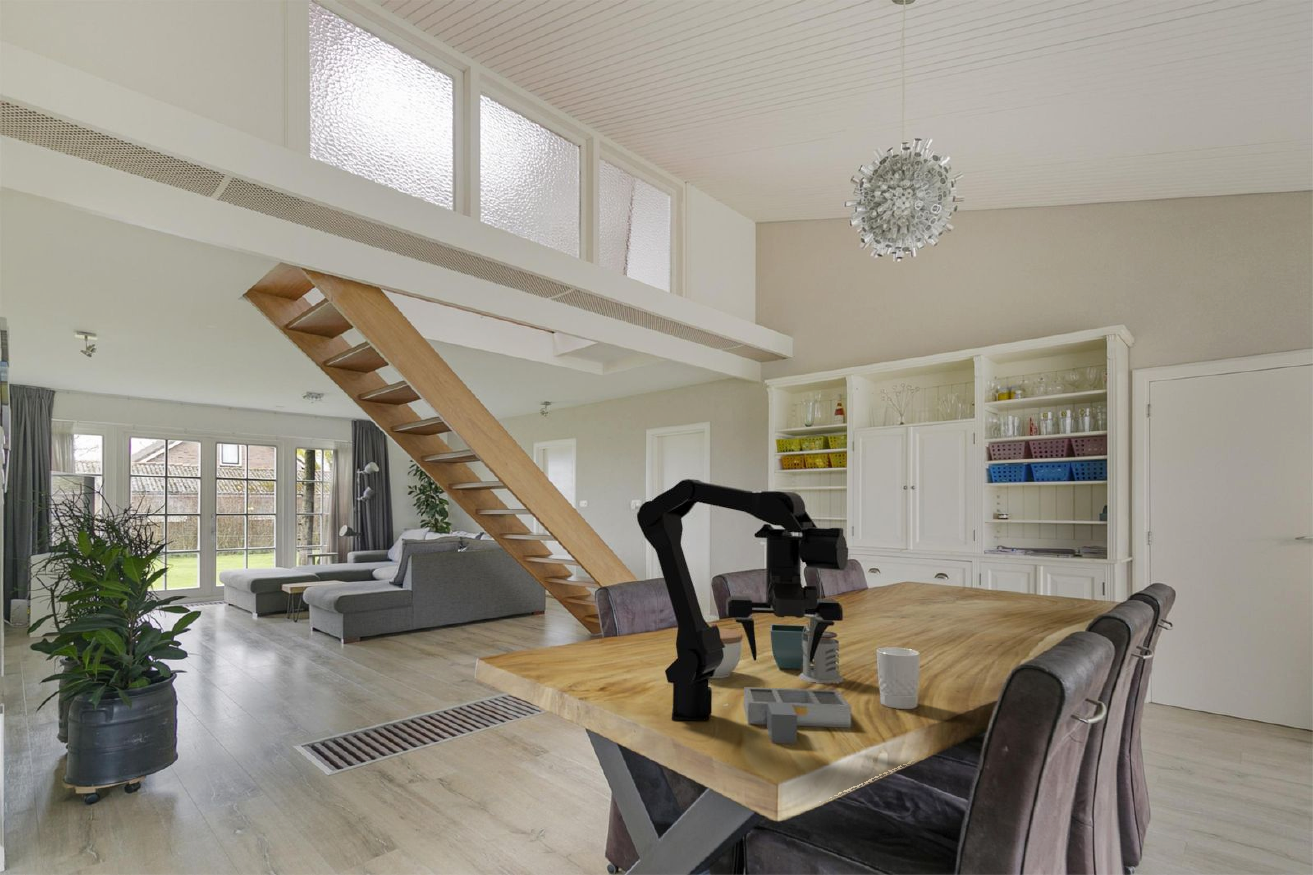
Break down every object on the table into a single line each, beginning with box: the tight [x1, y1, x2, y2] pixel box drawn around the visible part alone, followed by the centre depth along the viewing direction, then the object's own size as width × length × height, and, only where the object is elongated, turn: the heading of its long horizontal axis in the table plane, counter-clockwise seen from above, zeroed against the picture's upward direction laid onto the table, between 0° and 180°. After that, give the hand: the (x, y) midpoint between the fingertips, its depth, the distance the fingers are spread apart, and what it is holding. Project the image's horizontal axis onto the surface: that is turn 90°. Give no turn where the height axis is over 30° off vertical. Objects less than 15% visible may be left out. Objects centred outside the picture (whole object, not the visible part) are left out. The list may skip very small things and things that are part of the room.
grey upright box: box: [766, 702, 798, 744], centre depth 114 cm, size 4×7×4 cm, turn 177°
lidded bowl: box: [709, 623, 743, 679], centre depth 155 cm, size 13×13×11 cm
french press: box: [798, 568, 845, 685], centre depth 153 cm, size 10×12×25 cm
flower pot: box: [769, 624, 809, 670], centre depth 163 cm, size 9×9×9 cm
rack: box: [743, 686, 852, 728], centre depth 124 cm, size 18×11×4 cm, turn 87°
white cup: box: [876, 646, 921, 710], centre depth 134 cm, size 8×8×10 cm
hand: (782, 661), depth 115 cm, fingers open, 9 cm apart
